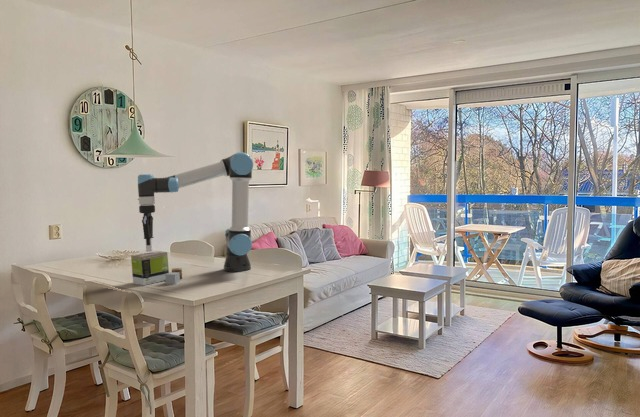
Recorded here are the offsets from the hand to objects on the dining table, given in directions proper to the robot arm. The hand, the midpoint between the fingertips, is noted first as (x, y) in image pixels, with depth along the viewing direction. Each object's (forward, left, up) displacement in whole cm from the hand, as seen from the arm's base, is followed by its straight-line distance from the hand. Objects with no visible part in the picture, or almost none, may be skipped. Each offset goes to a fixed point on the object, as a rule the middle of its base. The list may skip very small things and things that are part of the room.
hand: (149, 251), depth 247 cm
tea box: (0, 0, -16) cm, 16 cm away
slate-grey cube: (-12, +6, -16) cm, 21 cm away
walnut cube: (-12, -5, -16) cm, 21 cm away
